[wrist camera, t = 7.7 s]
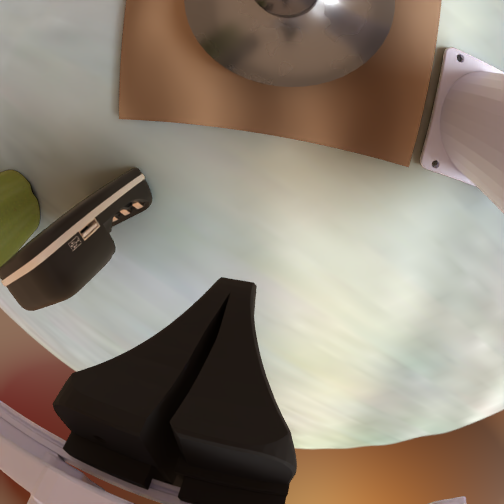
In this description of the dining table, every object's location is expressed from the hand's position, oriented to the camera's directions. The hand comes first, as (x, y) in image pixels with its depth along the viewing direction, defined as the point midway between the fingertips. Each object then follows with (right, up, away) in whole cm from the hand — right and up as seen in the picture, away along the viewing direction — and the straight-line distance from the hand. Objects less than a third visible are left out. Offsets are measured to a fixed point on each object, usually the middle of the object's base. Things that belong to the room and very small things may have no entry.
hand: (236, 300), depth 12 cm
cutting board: (+2, +18, +1) cm, 18 cm away
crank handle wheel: (+5, +16, -1) cm, 17 cm away
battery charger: (-10, +6, +12) cm, 16 cm away
